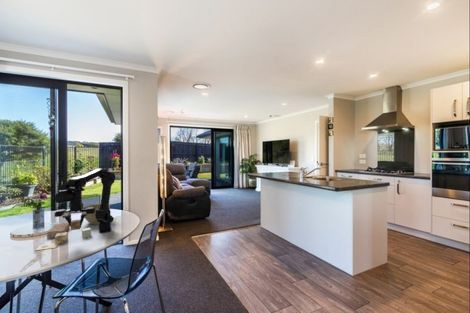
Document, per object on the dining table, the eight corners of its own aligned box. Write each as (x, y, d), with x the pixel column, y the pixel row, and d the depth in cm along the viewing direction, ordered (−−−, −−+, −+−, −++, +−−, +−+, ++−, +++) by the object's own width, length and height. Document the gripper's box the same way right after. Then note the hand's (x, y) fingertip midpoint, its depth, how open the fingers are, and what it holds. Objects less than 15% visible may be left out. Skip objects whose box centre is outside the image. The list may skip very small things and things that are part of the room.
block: (90, 234, 146) (89, 227, 146) (91, 236, 143) (90, 229, 143) (81, 236, 144) (81, 229, 144) (82, 238, 140) (82, 231, 140)
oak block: (67, 239, 138) (67, 232, 138) (65, 242, 134) (65, 235, 133) (57, 240, 136) (57, 233, 136) (55, 243, 131) (54, 236, 131)
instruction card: (59, 243, 132) (59, 242, 132) (55, 247, 126) (55, 247, 126) (39, 245, 128) (39, 245, 128) (35, 250, 122) (35, 250, 122)
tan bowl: (115, 219, 178) (115, 204, 177) (99, 227, 160) (99, 210, 159) (93, 218, 180) (93, 203, 179) (75, 226, 162) (75, 209, 161)
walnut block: (81, 226, 134) (81, 219, 133) (79, 229, 130) (79, 221, 129) (72, 227, 132) (72, 220, 132) (70, 230, 128) (70, 222, 128)
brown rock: (62, 237, 142) (62, 229, 142) (46, 239, 139) (46, 231, 139) (70, 228, 157) (70, 222, 157) (55, 230, 154) (55, 223, 154)
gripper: (96, 195, 141) (96, 220, 142) (60, 198, 134) (60, 224, 134) (93, 199, 131) (94, 225, 132) (54, 202, 124) (54, 230, 124)
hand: (76, 226), depth 131 cm, fingers closed on walnut block, 4 cm apart
